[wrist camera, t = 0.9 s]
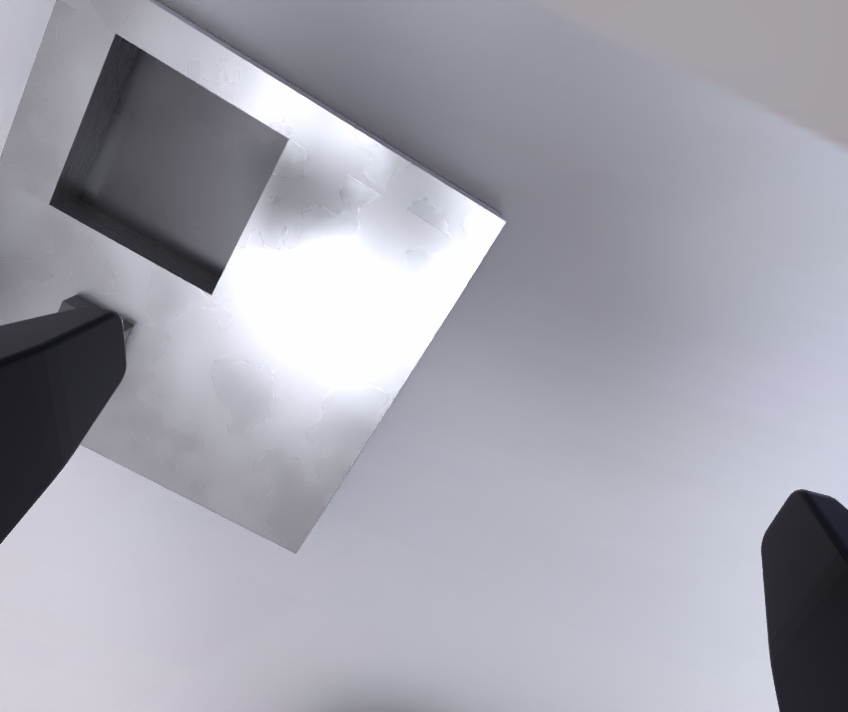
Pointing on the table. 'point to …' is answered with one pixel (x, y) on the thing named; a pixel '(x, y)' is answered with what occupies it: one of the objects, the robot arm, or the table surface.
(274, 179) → the socket
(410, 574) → the table surface
